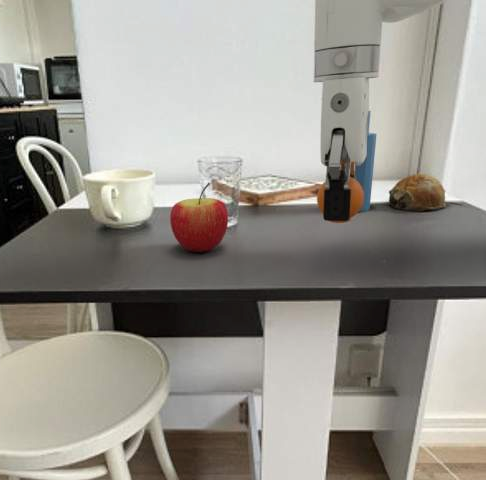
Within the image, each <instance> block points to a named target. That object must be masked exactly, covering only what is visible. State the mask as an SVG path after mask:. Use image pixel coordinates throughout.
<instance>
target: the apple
mask: <svg viewBox="0 0 486 480" xmlns="http://www.w3.org/2000/svg"><path fill="white" fill-rule="evenodd" d="M210 185H211V182H208V183H207V184H206V185H205V186H204V188H203V189H202V190H201V193H200V195H199V197H197V198H188V199H187V198H186V199H183V200H180V201H177V202H176V203H175V204H173V206H172V207H171V210H170V216H169V217H170V218H169V220H170V228H171V231H172V234H173V236H174V238H175V240H176V241H177V243H179V245H180V246H181V247H183V248H184V249H185V250H187V251H190V252H194V253H205V252H209V251H211V250H213V249H215V248H217V247H218V246H219V245H220V244H221V243H222V241H223V239H224V237H225V236H226V235H225V234H226V233H227V230H228V224H229V211H228V208H227V206H226V203H224V202H223V201H222V200H220V199H217V198H213V197H202V196H203V194H204V192H205V191H206V189H207V188H208V187H209V186H210Z"/></svg>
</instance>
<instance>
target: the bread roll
mask: <svg viewBox="0 0 486 480" xmlns="http://www.w3.org/2000/svg"><path fill="white" fill-rule="evenodd" d="M388 194H389V195H388V196H389V197H388V202H389V205H390V206H392V208H395V209H398V210H403V211H412V212H424V211H439V210H441V209H445V208H446V206H447V205H446V190H445V189H444V186H443V183H442V182H441V181H440V180H439V179H438V178H437V177H434V176H432V175H430V174H427V173H416V174H411V175H408V176H406V177H403V178H402V179H400V180H399V181H398V182H396V183H395V185H394V186H393V187H392V188H391V189H390V190H389V191H388Z"/></svg>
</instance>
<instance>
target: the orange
mask: <svg viewBox="0 0 486 480" xmlns="http://www.w3.org/2000/svg"><path fill="white" fill-rule="evenodd" d="M325 182H326V180H325V181H324V182H323V183H322V184H321V185H320V187H319V189H318V192H317V195H316V203H317V206H318V207H317V208H318V209H319V211H320V212H321V213H322V214H323V213H324V189H325ZM349 189H351V201H350V218H349V220H348V221H329V222H330V223H335V224H344V223H349V222H351V220H352V218H353V217H355V216H356V215H357V214H358V213H360V212H359V210H360V209H361V207H362V205H363V201H364V192H363V189H362V187H361V185H360V184H359V183H358V181H356V180H355V179H354V178H352V177H350V179H349Z"/></svg>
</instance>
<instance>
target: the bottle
mask: <svg viewBox="0 0 486 480" xmlns="http://www.w3.org/2000/svg"><path fill="white" fill-rule="evenodd" d="M370 121H371V110H369V113H368V131H367V155H366V158H365V160H364V162H363V163H362V164H361V165H360V166H356V162H355V178H354V179H356V181H358V183H359V184H360V185H361V187H362V189H363V192H364V201H363V205H362V207H361V209H360V210H359V212H358V213H365V212H368V211H370V209H371V196H372V190H373V189H372V186H373V176H374V166H375V155H376V145H377V133H375V132H370V123H371V122H370Z"/></svg>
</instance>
